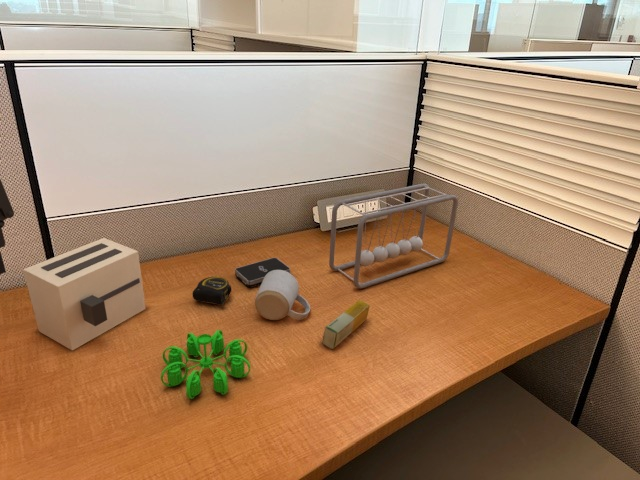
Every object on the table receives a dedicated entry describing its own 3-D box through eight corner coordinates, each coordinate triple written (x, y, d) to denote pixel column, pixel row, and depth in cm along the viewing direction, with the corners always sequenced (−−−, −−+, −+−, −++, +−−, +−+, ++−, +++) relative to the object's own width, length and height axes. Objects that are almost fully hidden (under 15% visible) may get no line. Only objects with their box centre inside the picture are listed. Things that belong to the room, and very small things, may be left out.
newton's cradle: (354, 292, 105) (361, 217, 98) (327, 271, 113) (331, 201, 105) (448, 260, 121) (460, 194, 113) (419, 244, 129) (428, 181, 121)
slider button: (83, 320, 83) (79, 300, 82) (95, 313, 85) (92, 294, 83) (95, 326, 82) (91, 306, 80) (107, 319, 84) (104, 300, 82)
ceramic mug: (252, 320, 94) (252, 286, 90) (263, 298, 101) (263, 266, 98) (305, 327, 93) (307, 294, 89) (312, 305, 100) (314, 272, 97)
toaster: (38, 331, 88) (22, 268, 82) (113, 293, 100) (103, 236, 95) (72, 351, 83) (58, 286, 78) (146, 309, 96) (138, 250, 90)
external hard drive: (234, 276, 109) (234, 268, 108) (275, 264, 115) (275, 256, 114) (249, 289, 104) (248, 281, 103) (291, 276, 110) (291, 268, 109)
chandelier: (180, 419, 70) (176, 383, 68) (147, 363, 81) (142, 329, 78) (268, 381, 79) (268, 347, 76) (227, 334, 90) (226, 303, 87)
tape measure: (191, 304, 98) (190, 288, 97) (207, 288, 104) (206, 272, 103) (221, 310, 97) (221, 294, 95) (236, 293, 103) (235, 278, 101)
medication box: (333, 350, 87) (336, 333, 85) (321, 343, 88) (323, 326, 86) (367, 319, 95) (370, 303, 93) (355, 313, 97) (358, 297, 95)
